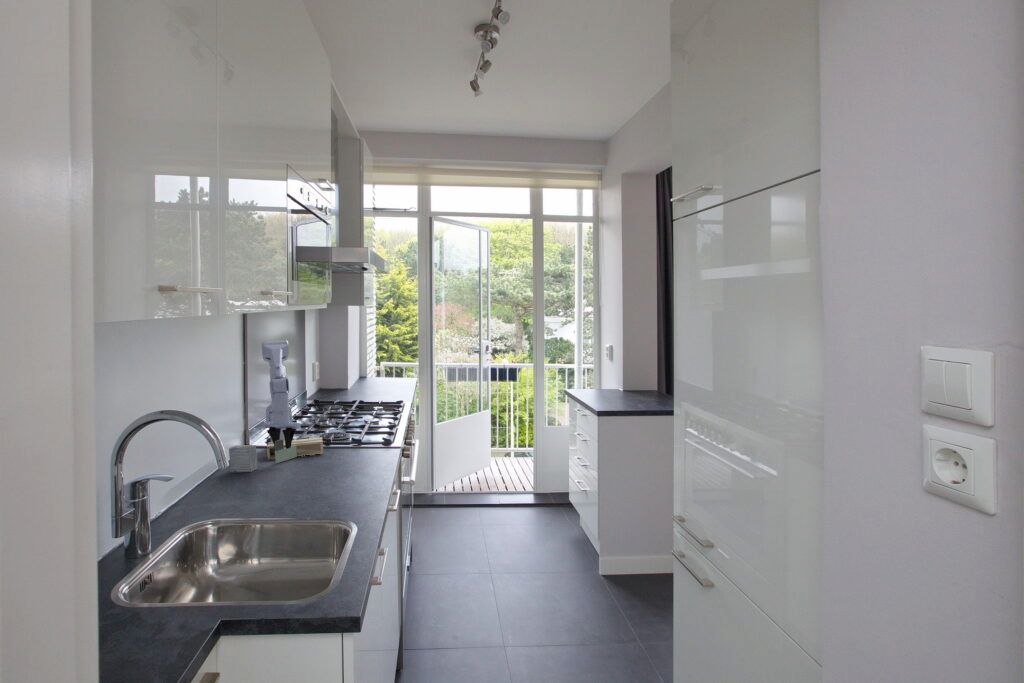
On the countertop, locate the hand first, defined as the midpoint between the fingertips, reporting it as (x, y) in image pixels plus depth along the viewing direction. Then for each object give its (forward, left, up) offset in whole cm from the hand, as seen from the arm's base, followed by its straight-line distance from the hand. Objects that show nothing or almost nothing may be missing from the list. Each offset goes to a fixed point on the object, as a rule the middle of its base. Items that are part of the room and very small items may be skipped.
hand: (282, 447), depth 227 cm
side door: (-3, +1, -5) cm, 6 cm away
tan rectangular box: (-11, +4, -6) cm, 13 cm away
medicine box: (+6, -13, -6) cm, 15 cm away
